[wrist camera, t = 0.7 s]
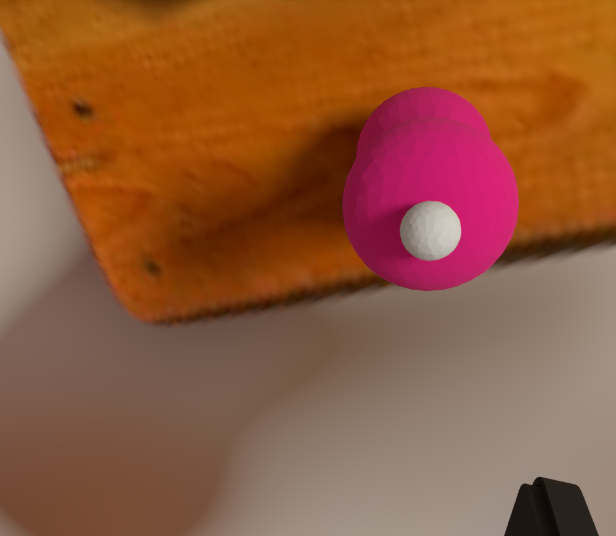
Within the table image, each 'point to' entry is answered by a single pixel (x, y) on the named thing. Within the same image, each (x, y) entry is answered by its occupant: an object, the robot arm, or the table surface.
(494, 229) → the pepper mill
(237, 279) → the table surface
